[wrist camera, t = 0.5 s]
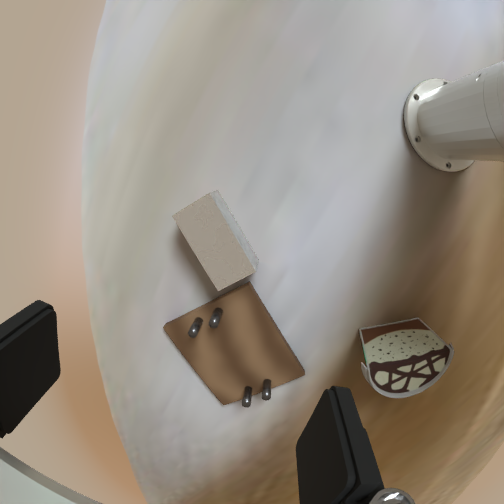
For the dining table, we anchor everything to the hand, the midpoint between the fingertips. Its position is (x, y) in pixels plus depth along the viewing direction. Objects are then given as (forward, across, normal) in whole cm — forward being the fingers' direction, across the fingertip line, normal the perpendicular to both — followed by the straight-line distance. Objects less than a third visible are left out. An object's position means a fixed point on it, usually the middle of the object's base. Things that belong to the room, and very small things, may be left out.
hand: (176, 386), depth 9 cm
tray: (+31, -3, +17) cm, 35 cm away
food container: (+30, -24, +10) cm, 40 cm away
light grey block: (+31, +2, +2) cm, 31 cm away
